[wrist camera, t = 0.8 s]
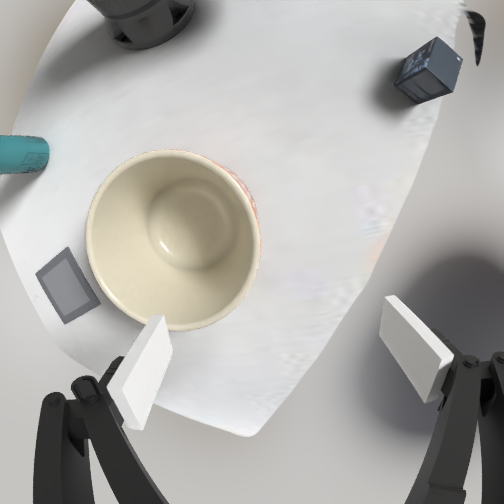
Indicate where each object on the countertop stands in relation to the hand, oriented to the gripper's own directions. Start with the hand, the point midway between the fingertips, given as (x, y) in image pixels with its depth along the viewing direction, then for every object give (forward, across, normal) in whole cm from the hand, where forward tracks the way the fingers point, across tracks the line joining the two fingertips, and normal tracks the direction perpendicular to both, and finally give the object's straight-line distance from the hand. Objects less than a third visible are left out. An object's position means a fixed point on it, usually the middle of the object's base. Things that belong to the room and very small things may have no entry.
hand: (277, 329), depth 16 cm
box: (+27, +28, +25) cm, 46 cm away
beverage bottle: (+27, -38, +18) cm, 51 cm away
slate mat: (+27, -38, -7) cm, 47 cm away
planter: (+27, -10, +2) cm, 29 cm away
